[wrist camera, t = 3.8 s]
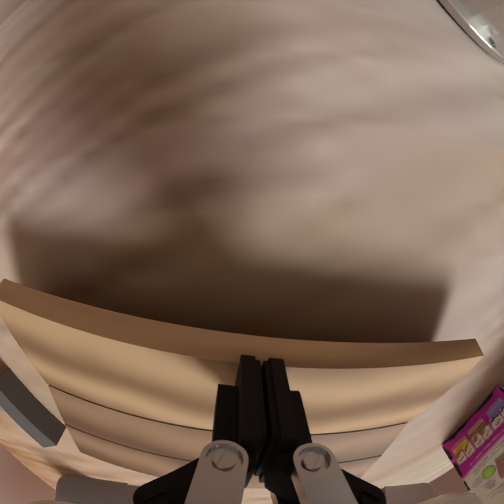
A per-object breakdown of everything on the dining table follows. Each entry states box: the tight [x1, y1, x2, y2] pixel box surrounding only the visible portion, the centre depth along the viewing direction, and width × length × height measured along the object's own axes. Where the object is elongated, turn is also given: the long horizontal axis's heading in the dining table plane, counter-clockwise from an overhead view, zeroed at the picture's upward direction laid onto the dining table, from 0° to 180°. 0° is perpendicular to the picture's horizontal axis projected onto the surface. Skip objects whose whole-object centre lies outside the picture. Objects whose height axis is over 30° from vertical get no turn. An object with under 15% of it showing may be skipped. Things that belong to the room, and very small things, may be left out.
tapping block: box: [0, 368, 66, 447], centre depth 15 cm, size 8×4×3 cm, turn 34°
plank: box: [0, 279, 484, 434], centre depth 13 cm, size 9×28×1 cm, turn 81°
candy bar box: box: [442, 385, 504, 504], centre depth 12 cm, size 11×5×16 cm, turn 151°
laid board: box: [49, 385, 407, 488], centre depth 17 cm, size 10×28×2 cm, turn 81°
